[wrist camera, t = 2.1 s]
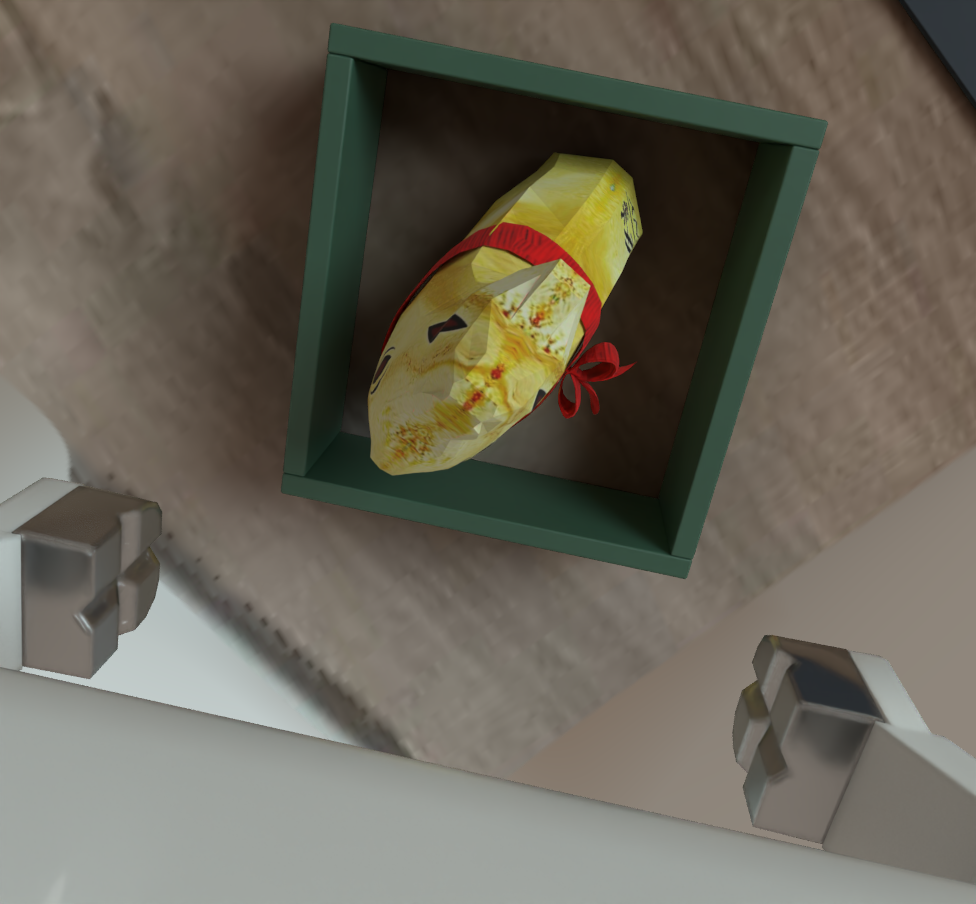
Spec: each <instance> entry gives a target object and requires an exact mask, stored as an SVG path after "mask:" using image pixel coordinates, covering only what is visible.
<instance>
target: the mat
mask: <svg viewBox="0 0 976 904" xmlns="http://www.w3.org/2000/svg"><path fill="white" fill-rule="evenodd" d="M899 2H900V3H901V5H902V6H903V7H904V9H905V10H906V12H907V13H908V14H909V16H910V17H911V19H912V20H913V21H914V23H915V24H916V26H917V27H918V29H919V30H920V31H921V33H922V34H923V36H924V37H925V38H926V40H927V41H928V43H929V44H930V45H931V47H932V48H933V50H934V51H935V53H936V54H937V55H938V57H939V58H940V60H941V61H942V62H943V64H944V65H945V67H946V68H947V70H948V71H949V72H950V74H951V75H952V77H953V78H954V79H955V81H956V82H957V84H958V85H959V86H960V88H961V89H962V91H963V92H964V94H965V95H966V96H967V98H968V99H969V101H970V102H971V103H972V105H973V106H974V108H975V109H976V0H899Z"/></svg>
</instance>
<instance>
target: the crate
mask: <svg viewBox="0 0 976 904" xmlns="http://www.w3.org/2000/svg"><path fill="white" fill-rule="evenodd" d="M328 52H329V54H328V55H327V61H326V70H325V80H324V89H323V99H322V108H321V118H320V127H319V137H318V146H317V155H316V165H315V174H314V184H313V193H312V203H311V212H310V222H309V231H308V240H307V250H306V259H305V269H304V278H303V288H302V297H301V307H300V316H299V326H298V335H297V344H296V354H295V363H294V373H293V382H292V392H291V401H290V411H289V420H288V429H287V439H286V448H285V458H284V467H283V471H284V473H283V477H282V486H281V492H282V493H284V494H289V495H293V496H298V497H303V498H308V499H312V500H317V501H322V502H326V503H331V504H336V505H340V506H345V507H350V508H354V509H359V510H364V511H369V512H373V513H378V514H383V515H387V516H392V517H397V518H401V519H406V520H411V521H415V522H420V523H425V524H429V525H434V526H439V527H444V528H448V529H453V530H458V531H462V532H467V533H472V534H476V535H481V536H486V537H490V538H495V539H500V540H505V541H509V542H514V543H519V544H523V545H528V546H533V547H537V548H542V549H547V550H551V551H556V552H561V553H566V554H570V555H575V556H580V557H584V558H589V559H594V560H598V561H603V562H608V563H612V564H617V565H622V566H627V567H631V568H636V569H641V570H645V571H650V572H655V573H659V574H664V575H669V576H673V577H678V578H683V579H686V578H687V576H688V573H689V569H690V566H691V563H692V559H693V557H694V554H695V551H696V548H697V544H698V541H699V538H700V535H701V531H702V528H703V525H704V522H705V519H706V515H707V512H708V509H709V506H710V502H711V499H712V496H713V493H714V490H715V486H716V483H717V480H718V477H719V473H720V470H721V467H722V464H723V461H724V457H725V454H726V451H727V448H728V444H729V441H730V438H731V435H732V432H733V428H734V425H735V422H736V419H737V415H738V412H739V409H740V406H741V403H742V399H743V396H744V393H745V390H746V386H747V383H748V380H749V377H750V374H751V370H752V367H753V364H754V361H755V357H756V354H757V351H758V348H759V345H760V341H761V338H762V335H763V332H764V328H765V325H766V322H767V319H768V316H769V312H770V309H771V306H772V303H773V299H774V296H775V293H776V290H777V287H778V283H779V280H780V277H781V274H782V270H783V267H784V264H785V261H786V258H787V254H788V251H789V248H790V245H791V241H792V238H793V235H794V232H795V229H796V225H797V222H798V219H799V216H800V212H801V209H802V206H803V203H804V199H805V196H806V193H807V190H808V187H809V183H810V180H811V177H812V174H813V170H814V167H815V164H816V161H817V158H818V154H819V151H818V149H820V147H821V144H822V141H823V138H824V135H825V131H826V128H827V125H828V122H827V121H826V120H820V119H815V118H810V117H805V116H800V115H795V114H790V113H785V112H780V111H775V110H770V109H765V108H760V107H755V106H750V105H745V104H740V103H735V102H730V101H725V100H720V99H714V98H709V97H704V96H699V95H694V94H689V93H684V92H679V91H674V90H669V89H664V88H659V87H654V86H649V85H644V84H639V83H634V82H629V81H624V80H619V79H613V78H608V77H603V76H598V75H593V74H588V73H583V72H578V71H573V70H568V69H563V68H558V67H553V66H548V65H543V64H538V63H533V62H528V61H523V60H518V59H513V58H507V57H502V56H497V55H492V54H487V53H482V52H477V51H472V50H467V49H462V48H457V47H452V46H447V45H442V44H437V43H432V42H427V41H422V40H417V39H412V38H406V37H401V36H396V35H391V34H386V33H381V32H376V31H371V30H366V29H361V28H356V27H351V26H346V25H341V24H336V23H331V25H330V31H329V41H328ZM386 68H388V69H393V70H398V71H403V72H408V73H413V74H418V75H423V76H428V77H433V78H438V79H443V80H448V81H453V82H458V83H463V84H468V85H473V86H478V87H483V88H488V89H493V90H498V91H503V92H508V93H513V94H518V95H523V96H528V97H533V98H538V99H543V100H548V101H553V102H558V103H563V104H568V105H573V106H578V107H583V108H588V109H593V110H599V111H604V112H609V113H614V114H619V115H624V116H629V117H634V118H639V119H644V120H649V121H654V122H659V123H664V124H669V125H674V126H679V127H684V128H689V129H694V130H699V131H704V132H709V133H714V134H719V135H724V136H729V137H734V138H739V139H744V140H749V141H754V142H759V143H760V144H759V146H758V149H757V153H756V156H755V160H754V163H753V167H752V170H751V174H750V177H749V181H748V184H747V188H746V191H745V195H744V198H743V202H742V205H741V209H740V212H739V216H738V219H737V223H736V226H735V230H734V233H733V237H732V240H731V244H730V247H729V251H728V254H727V258H726V261H725V265H724V268H723V272H722V275H721V279H720V282H719V286H718V290H717V293H716V297H715V300H714V304H713V307H712V311H711V314H710V318H709V321H708V325H707V328H706V332H705V335H704V339H703V342H702V346H701V349H700V353H699V356H698V360H697V363H696V367H695V370H694V374H693V377H692V381H691V384H690V388H689V391H688V395H687V398H686V402H685V405H684V409H683V412H682V416H681V419H680V423H679V426H678V430H677V433H676V437H675V440H674V444H673V448H672V451H671V455H670V458H669V462H668V465H667V469H666V472H665V476H664V479H663V483H662V486H661V490H660V493H659V499H656V498H652V497H647V496H642V495H638V494H633V493H628V492H623V491H619V490H614V489H609V488H604V487H600V486H595V485H590V484H585V483H581V482H576V481H571V480H566V479H562V478H557V477H552V476H547V475H543V474H538V473H533V472H528V471H524V470H519V469H514V468H509V467H505V466H500V465H495V464H490V463H486V462H481V461H476V460H472V459H468V460H466V461H464V462H462V463H460V464H457V465H455V466H453V467H451V468H449V469H444V470H437V471H433V472H420V473H409V474H401V475H390V474H389V473H387V472H385V471H383V470H381V469H379V467H378V466H377V465H376V464H375V463H374V461H373V460H372V459H371V458H370V454H371V438H367V437H362V436H358V435H353V434H348V433H343V432H340V430H341V425H342V418H343V410H344V402H345V395H346V387H347V379H348V372H349V364H350V356H351V349H352V341H353V333H354V326H355V318H356V310H357V302H358V295H359V287H360V279H361V272H362V264H363V256H364V249H365V241H366V233H367V226H368V218H369V210H370V203H371V195H372V187H373V180H374V172H375V164H376V157H377V149H378V141H379V134H380V126H381V118H382V111H383V103H384V95H385V88H386V80H387V72H388V71H387V69H386Z"/></svg>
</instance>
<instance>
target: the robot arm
mask: <svg viewBox="0 0 976 904" xmlns="http://www.w3.org/2000/svg"><path fill="white" fill-rule="evenodd" d="M161 534H162V511H161V509H160V507H159V505H158V503H157V502H153V501H149V500H145V499H140V498H136V497H132V496H128V495H123V494H119V493H115V492H111V491H106V490H102V489H98V488H94V487H89V486H84V485H83V484H79V483H74V482H68V481H63V480H58V479H52V478H41V479H40V480H38V481H37V482H35V483H33V484H32V485H30V486H28V487H27V488H25V489H24V490H22V491H20V492H19V493H17V494H16V495H14V496H12V497H11V498H9V499H7V500H6V501H4V502H3V503H1V504H0V904H976V759H975V758H974V757H972V756H971V755H969V754H968V753H967V752H965V751H964V750H962V749H961V748H960V747H958V746H957V745H955V744H954V743H953V742H951V741H950V740H948V739H947V738H946V737H944V736H941V735H936V734H932V733H931V732H930V731H929V729H928V727H927V726H926V724H925V722H924V721H923V719H922V717H921V716H920V714H919V712H918V711H917V709H916V707H915V705H914V704H913V702H912V700H911V699H910V697H909V696H908V694H907V692H906V690H905V689H904V687H903V685H902V684H901V682H900V680H899V679H898V677H897V675H896V674H895V672H894V670H893V669H892V667H891V665H890V664H889V662H888V660H886V659H884V658H883V657H881V656H878V655H872V654H867V653H861V652H855V651H849V650H846V649H842V648H837V647H832V646H826V645H821V644H816V643H811V642H805V641H800V640H795V639H789V638H785V637H779V636H774V635H765V636H764V637H763V639H762V641H761V642H760V644H759V645H758V647H757V650H756V653H755V656H754V658H753V661H752V663H753V667H754V670H755V673H756V676H757V679H758V680H757V681H755V682H754V683H752V684H751V685H749V686H748V687H746V688H745V689H744V690H742V692H741V696H740V699H739V702H738V705H737V708H736V711H735V718H734V725H733V749H734V753H735V758H736V762H737V763H738V764H739V765H740V766H741V767H742V768H743V769H744V770H745V771H746V772H747V773H748V774H747V777H746V780H745V783H744V785H743V790H744V794H745V798H746V802H747V806H748V809H749V813H750V817H751V821H752V825H753V827H756V828H760V829H764V830H768V831H772V832H776V833H780V834H784V835H788V836H792V837H796V838H800V839H804V840H808V841H812V842H816V843H820V844H823V845H822V848H823V849H824V850H825V851H824V850H820V849H815V848H811V847H806V846H802V845H797V844H793V843H788V842H784V841H779V840H775V839H770V838H766V837H761V836H756V835H752V834H748V833H743V832H739V831H734V830H730V829H725V828H721V827H716V826H712V825H707V824H703V823H698V822H694V821H689V820H685V819H680V818H676V817H671V816H667V815H662V814H658V813H653V812H649V811H644V810H640V809H635V808H631V807H626V806H622V805H617V804H613V803H608V802H604V801H599V800H595V799H590V798H586V797H581V796H577V795H573V794H568V793H564V792H559V791H554V790H550V789H545V788H541V787H537V786H532V785H528V784H523V783H519V782H514V781H509V780H505V779H501V778H496V777H492V776H487V775H483V774H478V773H474V772H469V771H465V770H460V769H456V768H451V767H447V766H442V765H438V764H433V763H429V762H424V761H420V760H415V759H411V758H406V757H402V756H397V755H393V754H388V753H384V752H380V751H375V750H371V749H366V748H362V747H357V746H353V745H348V744H344V743H339V742H335V741H330V740H326V739H321V738H316V737H312V736H308V735H303V734H299V733H294V732H290V731H285V730H280V729H276V728H272V727H267V726H263V725H258V724H254V723H249V722H245V721H241V720H236V719H231V718H227V717H222V716H218V715H213V714H209V713H204V712H200V711H196V710H191V709H187V708H182V707H177V706H173V705H169V704H164V703H160V702H155V701H151V700H146V699H142V698H137V697H133V696H128V695H124V694H119V693H115V692H110V691H106V690H101V689H97V688H92V687H88V686H84V685H79V684H75V683H70V682H66V681H61V680H57V679H52V678H48V677H43V676H39V675H34V674H29V673H25V672H21V671H19V670H21V669H22V666H24V667H30V668H35V669H40V670H45V671H50V672H55V673H61V674H66V675H71V676H77V677H81V678H86V679H90V678H91V677H92V676H93V675H94V674H95V673H96V672H97V671H98V670H99V668H101V666H102V665H103V664H104V663H105V662H106V661H107V660H108V659H109V658H110V657H111V656H112V654H113V653H114V652H115V651H116V650H117V647H118V635H121V634H124V633H127V632H130V631H133V630H135V629H136V628H137V627H138V626H139V624H140V623H141V622H142V621H143V620H144V618H145V617H146V616H147V614H148V611H149V609H150V607H151V605H152V603H153V601H154V599H155V595H156V591H157V586H158V582H159V571H160V563H159V561H158V560H157V558H156V556H155V555H154V553H153V551H152V550H151V548H150V545H151V544H152V543H153V542H154V541H155V540H156V539H157V538H158V537H159V536H160V535H161Z"/></svg>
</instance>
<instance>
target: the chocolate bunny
mask: <svg viewBox="0 0 976 904" xmlns="http://www.w3.org/2000/svg"><path fill="white" fill-rule="evenodd" d="M642 233H643V231H642V226H641V221H640V215H639V210H638V205H637V199H636V194H635V189H634V183H633V178H632V177H631V176H630V175H629V174H628V173H627V172H625V171H624V170H623V169H622V168H621V167H620V166H619V165H618V164H617V163H616V162H615V161H614V160H610V159H603V158H595V157H587V156H579V155H571V154H563V153H556V152H554V153H553V154H552V155H551V157H550V158H549V159H548V160H547V161H546V162H545V163H544V164H543V165H542V166H541V167H540V168H539V169H538V171H536V172H535V173H534V174H532V175H531V176H529V177H528V178H527V179H525V180H524V181H523V182H521V183H520V184H518V185H517V186H516V187H514V188H513V189H512V190H510V191H509V192H507V193H506V194H505V195H503V196H502V197H500V198H499V199H498V200H496V201H495V203H494V204H493V205H492V206H491V207H490V209H489V210H488V211H487V212H486V213H485V215H484V216H483V217H482V218H481V219H480V221H479V222H478V223H477V224H476V225H475V227H474V228H473V229H472V230H471V231H470V232H469V234H468V235H467V236H466V237H465V238H464V240H463V241H462V242H460V243H459V244H457V245H456V246H454V247H453V248H452V249H451V250H450V251H449V252H448V253H447V254H445V255H444V256H443V257H442V258H441V259H440V260H439V261H438V262H437V263H436V264H435V265H434V266H433V267H432V268H431V269H430V271H429V272H428V273H427V274H426V275H425V276H424V278H423V279H422V280H421V281H420V282H419V284H418V285H417V286H416V287H415V289H414V290H413V291H412V292H411V294H410V295H409V296H408V297H407V299H406V300H405V301H404V303H403V304H402V306H401V307H400V308H399V310H398V312H397V313H396V315H395V317H394V319H393V321H392V323H391V325H390V327H389V329H388V332H387V334H386V337H385V340H384V343H383V347H382V353H381V357H380V360H379V363H378V366H377V369H376V372H375V375H374V378H373V381H372V384H371V387H370V391H369V395H368V414H369V426H370V435H371V454H370V458H371V459H372V460H373V461H374V463H375V464H376V465H377V466H378V467H379V469H381V470H383V471H385V472H387V473H389V474H390V475H401V474H409V473H420V472H433V471H437V470H444V469H449V468H451V467H453V466H455V465H457V464H460V463H462V462H464V461H466V460H468V459H470V458H471V457H473V456H475V455H476V454H478V453H479V452H481V451H482V450H484V449H486V448H487V447H489V446H490V445H491V444H492V443H494V442H495V441H496V440H497V439H498V438H499V437H500V436H501V435H502V434H504V433H505V432H506V431H507V430H508V429H509V428H511V427H513V426H514V425H516V424H517V423H519V422H520V421H521V420H523V419H524V418H526V417H527V416H528V415H529V414H530V413H532V412H533V411H534V410H535V409H536V408H537V407H538V406H540V405H541V403H542V402H543V401H544V400H545V399H546V398H547V397H548V395H549V394H550V393H551V392H552V391H553V389H554V388H555V387H556V385H557V384H558V382H559V381H560V380H561V378H562V377H563V379H562V381H561V384H560V388H559V393H558V404H559V407H560V410H561V412H562V414H563V416H564V417H565V418H571V417H573V416H574V415H575V414H576V412H577V410H578V408H579V405H580V401H581V388H580V383H581V384H582V385H583V386H584V387H585V388H586V390H587V391H588V393H589V395H590V403H591V409H592V412H593V414H594V415H595V414H597V413H598V412H599V409H600V408H599V401H598V396H597V395H596V393H595V391H594V390H593V388H592V387H591V386H590V384H589V383H587V382H586V381H588V382H589V381H591V382H596V381H604V380H608V379H611V378H613V377H616V376H618V375H621V374H622V373H624V372H625V371H627V370H628V369H630V368H631V367H632V366H633V365H634V364H635V363H637V362H635V363H633V364H630V365H627V366H623V367H619V356H618V352H617V350H616V348H615V346H614V345H612V344H611V343H608V342H602V343H599V344H596V345H594V346H593V347H592V348H590V349H589V350H587V351H586V352H585V353H584V354H583V355H582V356H581V358H580V359H579V360H578V361H577V362H576V363H575V365H574V366H573V367H572V368H571V365H572V364H573V363H574V362H575V360H576V359H577V358H578V357H579V356H580V354H581V353H582V352H583V350H584V349H585V347H586V346H587V344H588V342H589V341H590V339H591V338H592V336H593V334H594V333H595V331H596V329H597V327H598V325H599V322H600V314H601V308H602V306H603V305H604V303H605V301H606V299H607V298H608V296H609V294H610V292H611V290H612V289H613V287H614V285H615V283H616V282H617V280H618V278H619V276H620V274H621V273H622V271H623V268H624V266H625V264H626V261H627V259H628V257H629V255H630V253H631V252H632V250H633V248H634V246H635V245H636V243H637V241H638V239H639V238H640V237H641V236H642ZM441 264H443V265H442V266H441V267H440V268H439V269H438V270H437V271H436V273H435V274H434V275H433V276H432V278H431V279H430V280H429V281H428V282H427V284H426V285H425V286H424V287H423V288H422V290H421V291H420V292H419V293H418V294H417V296H416V297H415V298H414V299H413V300H412V302H411V303H410V304H409V302H410V300H411V299H412V297H413V296H414V294H415V293H416V292H417V290H418V289H419V288H420V286H421V285H422V284H423V283H424V282H425V280H426V279H427V278H428V277H429V276H430V275H431V274H432V273H433V272H434V271H435V270H436V269H437V268H438V267H439V266H440V265H441ZM408 304H409V305H408ZM407 305H408V306H407ZM406 307H407V308H406ZM584 337H585V338H584ZM583 339H584V343H583V345H582V347H581V349H580V350H579V352H578V353H577V354H576V356H575V357H574V359H573V360H572V362H571V363H570V361H571V359H572V358H573V356H574V354H575V353H576V351H577V349H578V348H579V346H580V344H581V343H582V341H583ZM589 362H602V363H600V364H598V365H596V366H595V367H593V368H591V369H587V370H583V371H582V370H580V368H579V366H580V365H583V364H586V363H589ZM569 363H570V364H569ZM568 364H569V366H568ZM567 366H568V367H567ZM566 371H567V372H566ZM565 372H566V373H565ZM567 374H570V375H571V377H572V380H573V383H574V386H575V398H576V403H572V402H571V401H569V400H568V399H567V398H566V397H565V395H564V394H563V390H562V386H563V381H564V378H565V376H566V375H567ZM563 375H564V376H563Z"/></svg>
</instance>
